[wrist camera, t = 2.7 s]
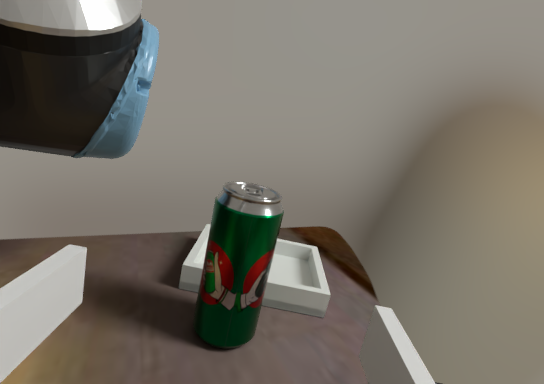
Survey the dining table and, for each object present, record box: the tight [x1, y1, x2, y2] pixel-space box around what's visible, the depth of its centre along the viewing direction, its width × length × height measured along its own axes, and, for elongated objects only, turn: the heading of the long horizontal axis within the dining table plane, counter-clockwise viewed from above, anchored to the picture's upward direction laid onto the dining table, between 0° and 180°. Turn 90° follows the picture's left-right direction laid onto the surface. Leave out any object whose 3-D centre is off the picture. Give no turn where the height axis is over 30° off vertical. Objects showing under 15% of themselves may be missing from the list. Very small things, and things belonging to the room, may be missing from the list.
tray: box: [179, 224, 331, 318], centre depth 36 cm, size 14×11×2 cm
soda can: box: [193, 182, 284, 349], centre depth 25 cm, size 5×5×12 cm
